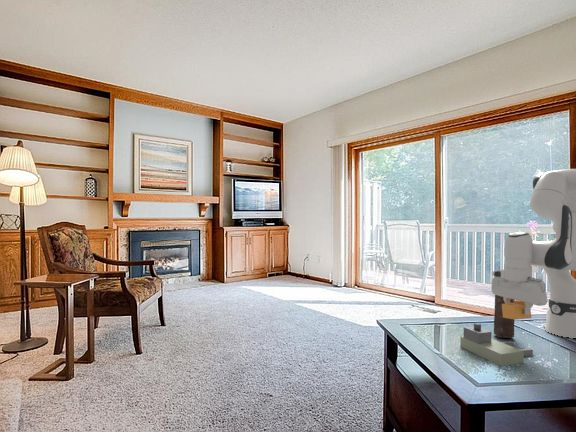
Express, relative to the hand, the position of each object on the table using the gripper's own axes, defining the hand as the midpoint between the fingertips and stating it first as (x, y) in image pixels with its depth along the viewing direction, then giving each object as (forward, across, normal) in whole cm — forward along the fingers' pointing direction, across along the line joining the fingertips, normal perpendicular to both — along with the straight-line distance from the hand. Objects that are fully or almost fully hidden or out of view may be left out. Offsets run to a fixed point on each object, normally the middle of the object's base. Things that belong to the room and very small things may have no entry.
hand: (517, 311), depth 131 cm
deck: (+15, 0, +8) cm, 17 cm away
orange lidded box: (+2, 0, +1) cm, 2 cm away
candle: (+15, +13, -8) cm, 22 cm away
